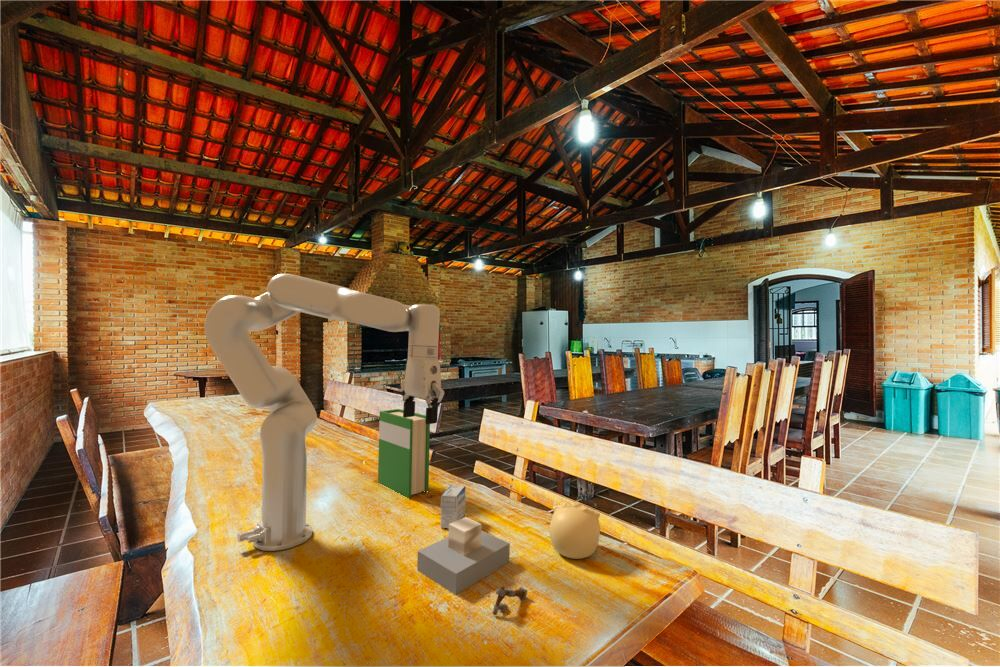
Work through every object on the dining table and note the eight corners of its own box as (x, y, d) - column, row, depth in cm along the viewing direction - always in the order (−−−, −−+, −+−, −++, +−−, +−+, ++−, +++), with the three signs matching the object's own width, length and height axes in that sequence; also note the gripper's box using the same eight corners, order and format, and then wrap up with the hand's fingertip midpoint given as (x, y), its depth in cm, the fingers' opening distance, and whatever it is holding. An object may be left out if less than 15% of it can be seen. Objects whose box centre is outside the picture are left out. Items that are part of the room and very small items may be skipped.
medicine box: (456, 530, 105) (457, 496, 105) (440, 528, 106) (440, 494, 106) (465, 517, 112) (466, 485, 112) (449, 515, 113) (450, 484, 113)
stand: (455, 594, 79) (456, 573, 79) (417, 570, 87) (417, 551, 87) (509, 561, 91) (509, 543, 91) (471, 542, 99) (471, 525, 99)
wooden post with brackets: (487, 612, 73) (494, 584, 74) (514, 610, 78) (520, 585, 79) (494, 617, 72) (501, 588, 73) (521, 615, 77) (527, 589, 78)
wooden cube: (463, 556, 85) (464, 531, 85) (448, 547, 89) (448, 524, 89) (481, 547, 89) (481, 524, 89) (465, 539, 92) (465, 516, 92)
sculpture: (601, 543, 100) (602, 499, 100) (596, 569, 88) (597, 519, 88) (555, 535, 103) (555, 492, 103) (544, 559, 92) (545, 511, 92)
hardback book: (428, 492, 129) (430, 416, 129) (408, 499, 124) (410, 419, 124) (397, 478, 141) (398, 408, 141) (377, 483, 136) (379, 411, 136)
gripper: (456, 355, 101) (452, 424, 101) (415, 351, 113) (412, 413, 113) (431, 355, 96) (428, 428, 96) (391, 350, 108) (388, 415, 108)
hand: (419, 420), depth 104 cm, fingers open, 9 cm apart
